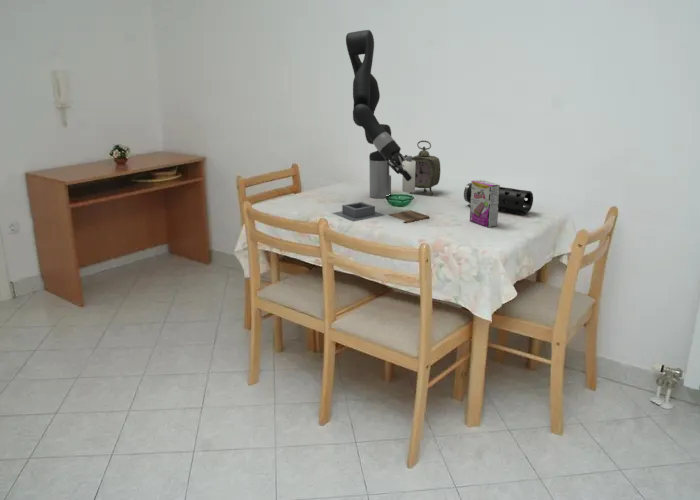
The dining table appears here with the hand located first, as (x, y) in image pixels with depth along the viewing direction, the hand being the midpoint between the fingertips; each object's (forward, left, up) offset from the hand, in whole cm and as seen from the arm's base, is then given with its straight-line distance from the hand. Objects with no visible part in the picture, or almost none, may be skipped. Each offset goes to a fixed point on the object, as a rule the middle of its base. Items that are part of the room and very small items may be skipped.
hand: (412, 178), depth 234 cm
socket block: (+16, -16, -16) cm, 28 cm away
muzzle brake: (-37, +10, -17) cm, 42 cm away
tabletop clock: (-32, -32, -17) cm, 48 cm away
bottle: (+1, -2, -5) cm, 6 cm away
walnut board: (+1, -2, -16) cm, 17 cm away
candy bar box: (-17, +22, -17) cm, 33 cm away
